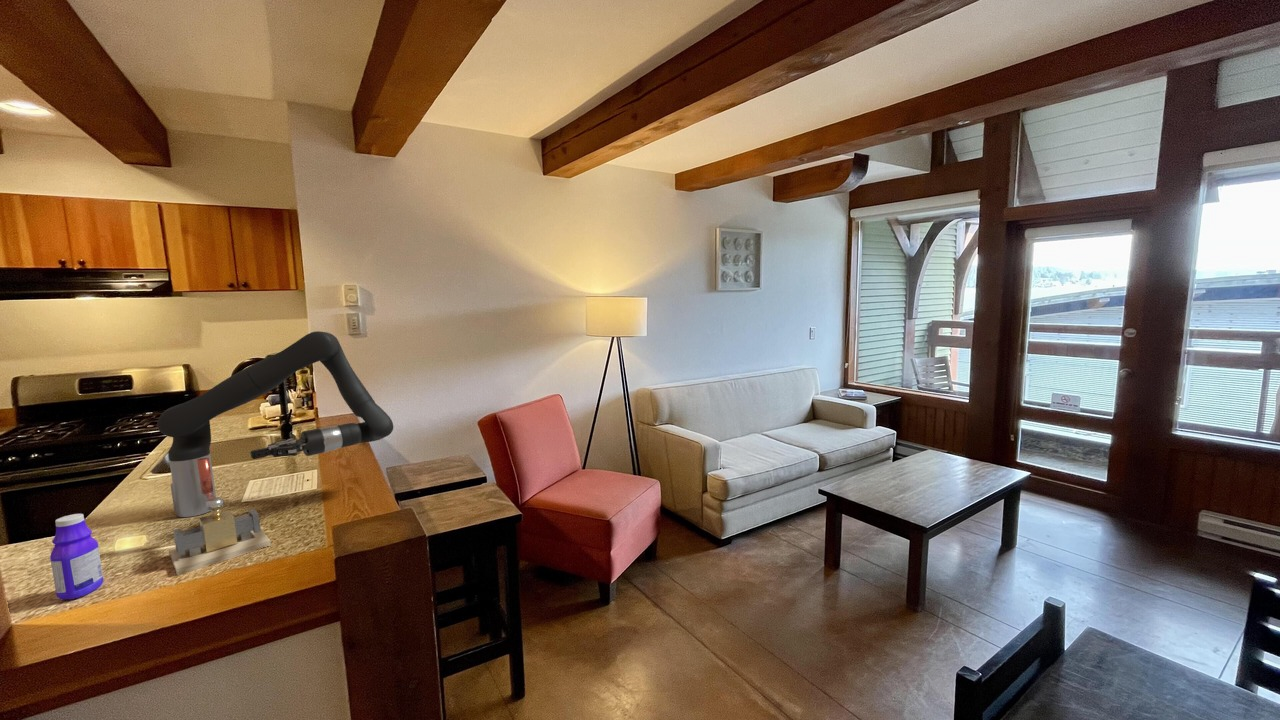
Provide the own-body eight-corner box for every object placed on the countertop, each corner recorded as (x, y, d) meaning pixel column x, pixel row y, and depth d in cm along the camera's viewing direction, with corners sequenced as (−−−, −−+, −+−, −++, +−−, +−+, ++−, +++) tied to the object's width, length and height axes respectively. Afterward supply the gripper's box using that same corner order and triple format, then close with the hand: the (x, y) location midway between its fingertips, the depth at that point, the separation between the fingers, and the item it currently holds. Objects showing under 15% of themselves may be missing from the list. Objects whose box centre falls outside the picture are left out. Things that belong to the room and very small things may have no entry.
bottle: (84, 584, 114) (71, 511, 111) (111, 582, 114) (99, 509, 112) (50, 603, 106) (35, 525, 104) (79, 601, 107) (65, 524, 105)
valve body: (179, 561, 120) (173, 522, 118) (176, 554, 123) (170, 515, 122) (261, 536, 131) (257, 500, 130) (256, 530, 135) (252, 495, 134)
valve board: (177, 575, 116) (176, 569, 116) (169, 555, 125) (169, 550, 125) (270, 545, 129) (270, 540, 129) (258, 529, 139) (257, 524, 139)
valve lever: (208, 510, 124) (202, 470, 122) (199, 497, 132) (194, 459, 131) (224, 506, 126) (219, 466, 125) (215, 494, 135) (210, 456, 133)
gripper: (313, 425, 156) (244, 438, 143) (327, 431, 147) (255, 446, 134) (316, 448, 157) (247, 463, 144) (330, 456, 148) (258, 473, 135)
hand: (251, 455), depth 139 cm, fingers closed
